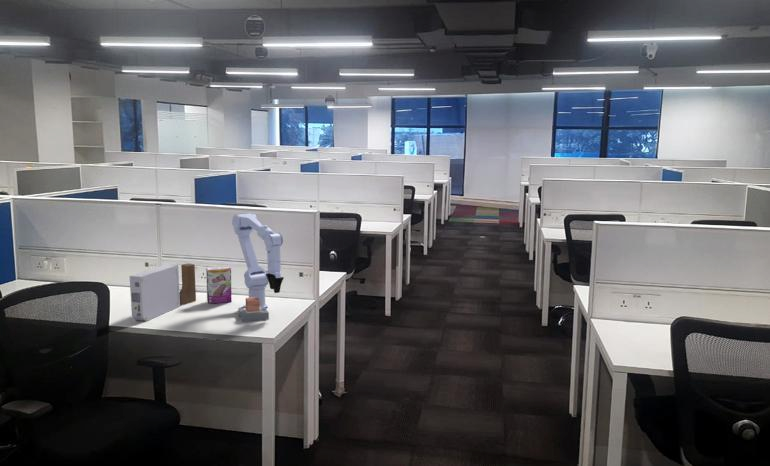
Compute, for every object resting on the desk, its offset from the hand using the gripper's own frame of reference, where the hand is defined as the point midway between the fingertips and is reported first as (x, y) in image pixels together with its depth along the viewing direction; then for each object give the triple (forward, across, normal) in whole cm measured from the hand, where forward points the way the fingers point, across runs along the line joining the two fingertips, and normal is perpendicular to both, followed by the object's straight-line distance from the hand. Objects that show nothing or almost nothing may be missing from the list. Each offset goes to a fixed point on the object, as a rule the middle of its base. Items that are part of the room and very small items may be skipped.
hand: (274, 290), depth 269 cm
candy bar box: (+10, -29, -20) cm, 37 cm away
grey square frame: (+10, +2, -10) cm, 15 cm away
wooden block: (+10, -34, -35) cm, 50 cm away
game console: (+10, -19, -48) cm, 53 cm away
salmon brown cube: (+7, +2, -10) cm, 13 cm away
